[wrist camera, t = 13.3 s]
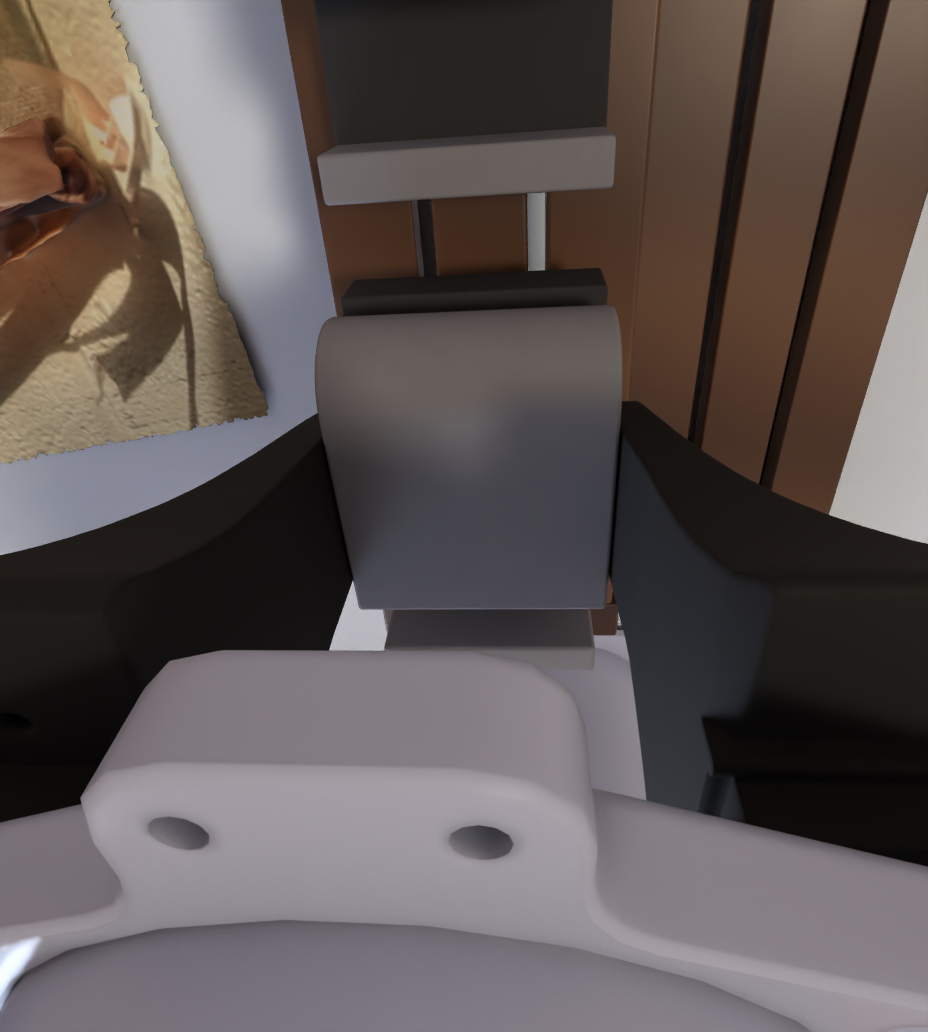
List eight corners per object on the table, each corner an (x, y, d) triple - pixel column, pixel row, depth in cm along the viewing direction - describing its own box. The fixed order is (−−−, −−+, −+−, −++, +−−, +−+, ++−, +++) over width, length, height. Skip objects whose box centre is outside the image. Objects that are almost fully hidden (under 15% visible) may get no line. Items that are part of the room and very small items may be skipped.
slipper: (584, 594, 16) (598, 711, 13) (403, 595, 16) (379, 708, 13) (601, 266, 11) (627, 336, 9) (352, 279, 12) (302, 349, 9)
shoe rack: (793, 518, 22) (862, 637, 18) (412, 524, 23) (386, 636, 19) (1124, -711, 10) (1651, -1373, 5) (261, -561, 11) (82, -989, 6)
